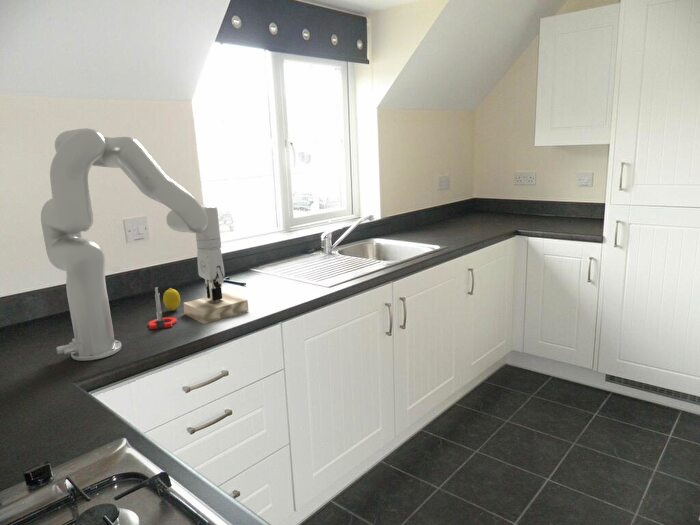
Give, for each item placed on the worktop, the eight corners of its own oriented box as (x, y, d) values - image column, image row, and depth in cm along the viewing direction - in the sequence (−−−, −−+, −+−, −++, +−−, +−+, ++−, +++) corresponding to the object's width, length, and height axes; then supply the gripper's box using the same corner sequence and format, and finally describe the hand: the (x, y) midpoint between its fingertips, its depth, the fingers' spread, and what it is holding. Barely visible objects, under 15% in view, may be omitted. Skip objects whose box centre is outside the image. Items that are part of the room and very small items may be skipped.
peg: (214, 310, 170) (210, 278, 167) (209, 308, 172) (206, 276, 170) (222, 308, 172) (219, 276, 169) (218, 306, 174) (214, 274, 172)
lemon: (175, 307, 181) (173, 285, 179) (185, 309, 177) (182, 287, 175) (161, 311, 177) (158, 289, 175) (170, 314, 173) (167, 291, 171)
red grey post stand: (151, 322, 167) (146, 330, 158) (146, 283, 165) (141, 289, 156) (178, 319, 169) (175, 327, 160) (173, 280, 167) (170, 286, 158)
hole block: (203, 323, 162) (202, 311, 161) (184, 314, 172) (183, 302, 171) (248, 311, 172) (247, 299, 171) (228, 303, 182) (227, 292, 182)
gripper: (187, 242, 171) (193, 296, 175) (209, 248, 159) (216, 306, 163) (208, 239, 175) (213, 291, 180) (231, 244, 163) (237, 300, 167)
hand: (214, 298), depth 171 cm, fingers closed on peg, 3 cm apart
